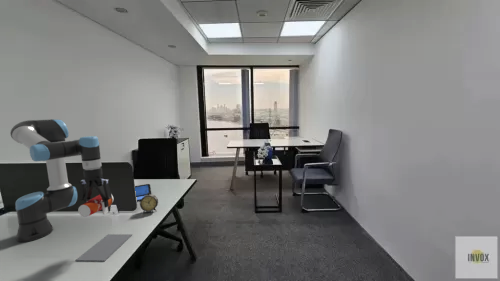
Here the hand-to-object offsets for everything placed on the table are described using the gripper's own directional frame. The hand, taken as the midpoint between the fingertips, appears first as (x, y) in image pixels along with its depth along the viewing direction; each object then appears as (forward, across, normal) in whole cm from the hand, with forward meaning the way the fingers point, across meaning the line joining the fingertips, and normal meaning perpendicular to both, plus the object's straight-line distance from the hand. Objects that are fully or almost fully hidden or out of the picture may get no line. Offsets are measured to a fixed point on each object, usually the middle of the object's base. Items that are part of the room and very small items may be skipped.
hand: (98, 213), depth 112 cm
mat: (+18, +2, 0) cm, 18 cm away
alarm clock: (+18, +4, +41) cm, 45 cm away
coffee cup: (-5, 0, -8) cm, 9 cm away
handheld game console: (+18, -16, +65) cm, 70 cm away
